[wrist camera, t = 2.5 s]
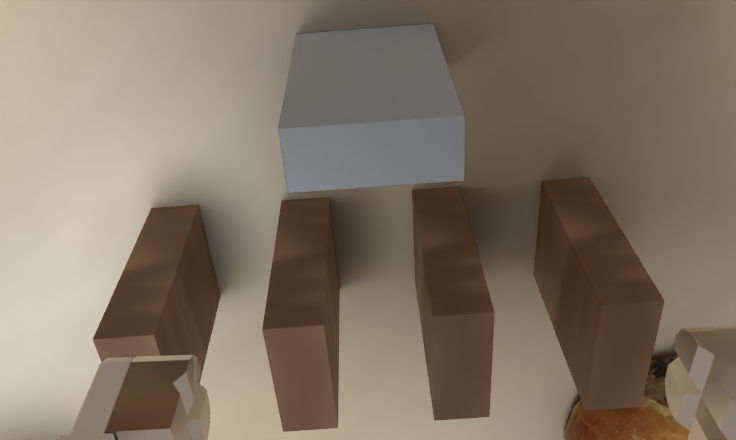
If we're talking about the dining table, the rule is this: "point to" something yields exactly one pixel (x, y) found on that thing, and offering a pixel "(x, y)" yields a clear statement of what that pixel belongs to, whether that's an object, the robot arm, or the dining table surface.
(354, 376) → the dining table surface
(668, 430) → the bread roll
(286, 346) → the domino
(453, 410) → the domino
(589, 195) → the domino
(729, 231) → the dining table surface
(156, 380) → the robot arm
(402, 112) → the domino
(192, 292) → the domino
